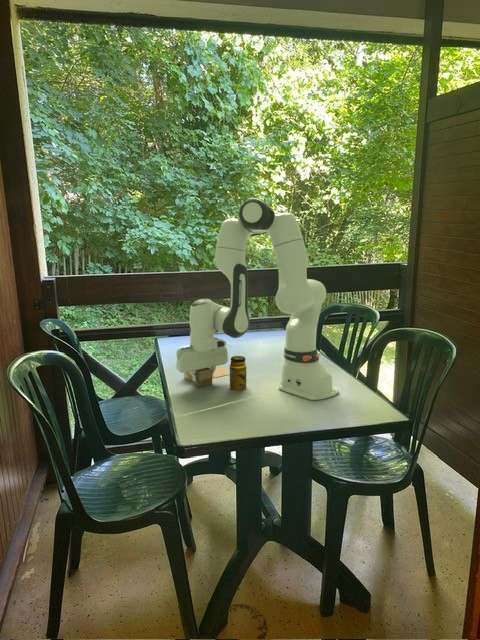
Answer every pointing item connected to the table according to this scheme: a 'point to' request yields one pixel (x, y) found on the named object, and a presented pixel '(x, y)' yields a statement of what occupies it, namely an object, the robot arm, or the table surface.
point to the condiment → (238, 373)
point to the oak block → (188, 376)
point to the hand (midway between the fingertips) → (203, 379)
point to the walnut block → (203, 377)
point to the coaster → (220, 372)
